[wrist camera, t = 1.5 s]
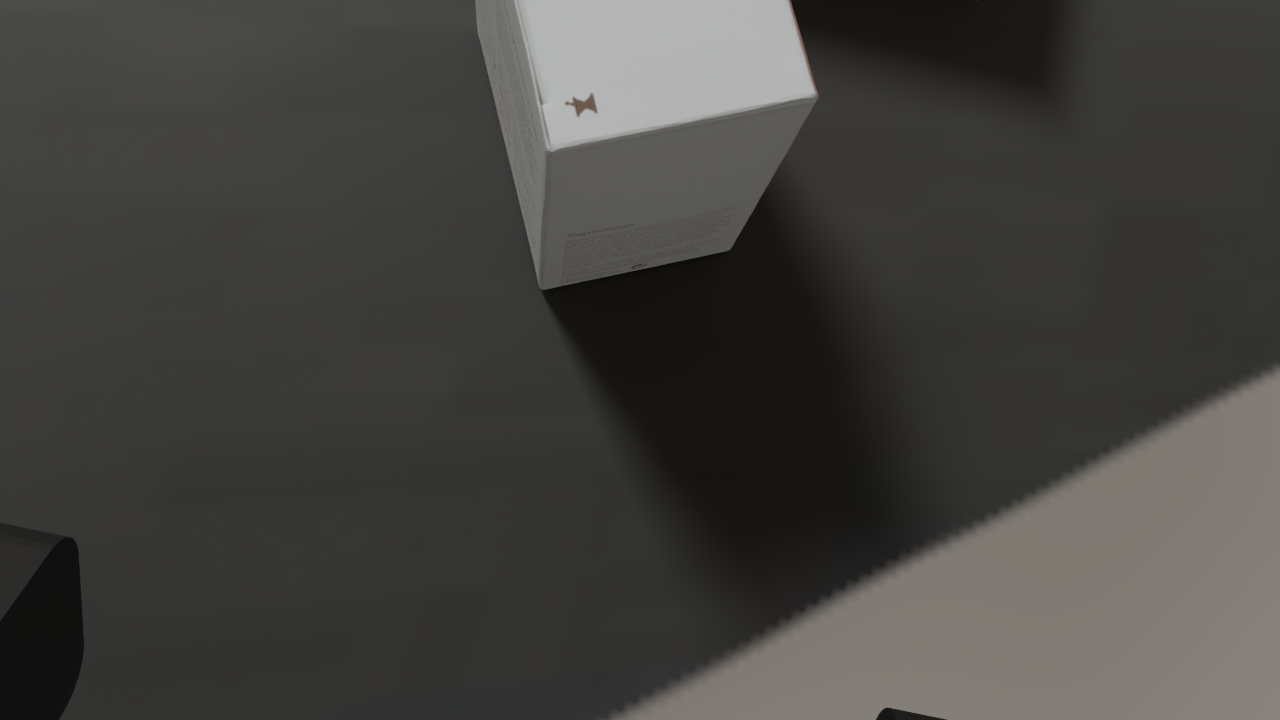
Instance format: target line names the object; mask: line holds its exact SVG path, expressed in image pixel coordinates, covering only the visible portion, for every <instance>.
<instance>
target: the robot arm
mask: <svg viewBox="0 0 1280 720" xmlns="http://www.w3.org/2000/svg"><path fill="white" fill-rule="evenodd" d="M83 652H84V635H83V619H82V602H81V585H80V568H79V553H78V547H77V544H76V542H75V540H74V539H73V538H71V537H66V536H61V535H56V534H51V533H47V532H42V531H37V530H32V529H27V528H22V527H17V526H12V525H8V524H3V523H0V720H59V719H60V717H61V715H62V714H63V712H64V710H65V708H66V707H67V705H68V703H69V700H70V698H71V696H72V694H73V691H74V689H75V686H76V683H77V680H78V677H79V673H80V669H81V665H82V659H83ZM876 720H946V719H941V718H936V717H930V716H926V715H921V714H916V713H911V712H906V711H902V710H897V709H892V708H885V709H883V710H882V711H881V712H880V714H879V715H878V717H877V719H876Z"/></svg>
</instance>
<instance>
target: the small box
mask: <svg viewBox="0 0 1280 720" xmlns="http://www.w3.org/2000/svg"><path fill="white" fill-rule="evenodd" d="M475 3H476V19H477V30H478V36H479V40H480V43H481V47H482V51H483V55H484V59H485V63H486V67H487V72H488V76H489V80H490V84H491V88H492V92H493V96H494V100H495V104H496V109H497V113H498V117H499V121H500V125H501V129H502V133H503V137H504V141H505V145H506V150H507V154H508V158H509V162H510V166H511V170H512V174H513V178H514V182H515V186H516V190H517V195H518V199H519V203H520V207H521V211H522V215H523V219H524V223H525V227H526V232H527V236H528V240H529V244H530V248H531V253H532V257H533V261H534V265H535V270H536V275H537V279H538V284H539V287H540V288H541V289H542V290H546V289H551V288H555V287H560V286H564V285H569V284H574V283H579V282H584V281H588V280H593V279H598V278H603V277H607V276H612V275H617V274H622V273H626V272H631V271H636V270H641V269H646V268H650V267H655V266H660V265H664V264H669V263H674V262H678V261H683V260H687V259H692V258H697V257H702V256H706V255H711V254H716V253H720V252H726V251H729V250H730V249H731V248H732V246H733V244H734V243H735V241H736V239H737V237H738V236H739V234H740V232H741V231H742V229H743V227H744V226H745V224H746V222H747V220H748V218H749V217H750V215H751V214H752V212H753V210H754V209H755V207H756V205H757V203H758V201H759V199H760V198H761V196H762V194H763V193H764V191H765V189H766V187H767V186H768V184H769V183H770V181H771V179H772V177H773V175H774V174H775V172H776V170H777V168H778V167H779V165H780V163H781V162H782V160H783V158H784V156H785V155H786V153H787V151H788V150H789V148H790V146H791V144H792V143H793V141H794V139H795V137H796V136H797V134H798V132H799V130H800V128H801V126H802V125H803V123H804V121H805V120H806V118H807V117H808V115H809V113H810V111H811V109H812V107H813V106H814V104H815V102H816V101H817V99H818V96H819V94H818V92H817V89H816V86H815V82H814V79H813V75H812V72H811V69H810V65H809V62H808V58H807V54H806V51H805V47H804V44H803V40H802V37H801V34H800V31H799V27H798V24H797V21H796V17H795V14H794V11H793V7H792V4H791V0H475Z"/></svg>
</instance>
